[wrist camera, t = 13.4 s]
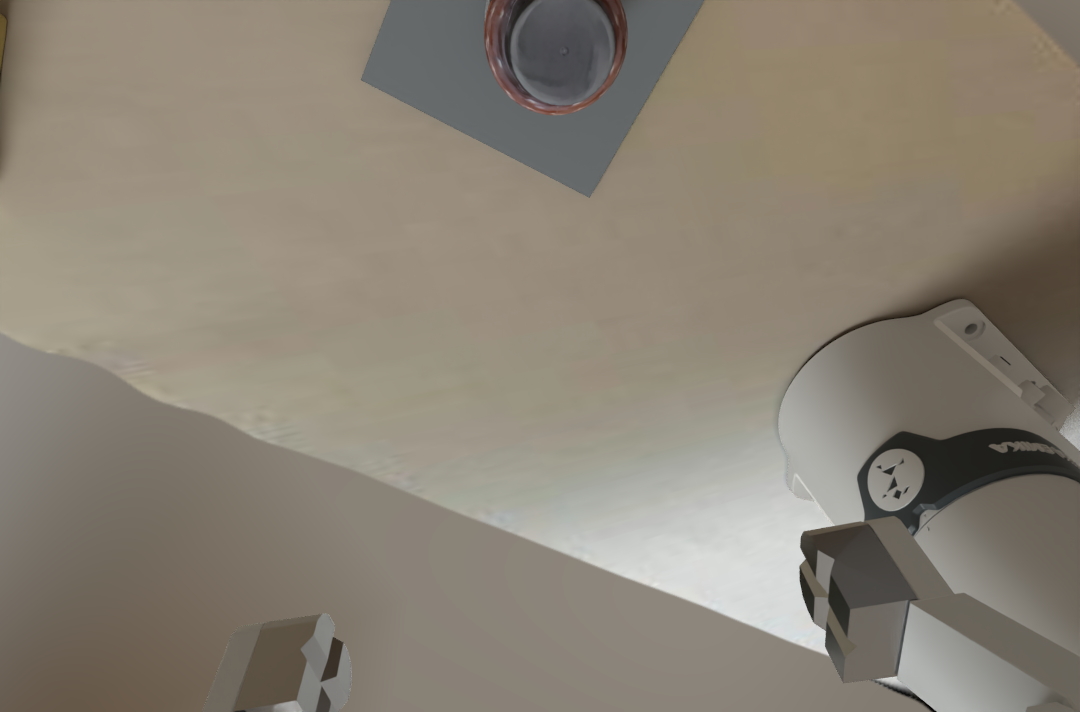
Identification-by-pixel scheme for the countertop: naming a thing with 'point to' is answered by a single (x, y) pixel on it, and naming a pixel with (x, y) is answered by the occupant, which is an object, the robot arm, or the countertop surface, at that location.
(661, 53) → the mat
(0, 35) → the cheese
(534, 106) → the supplement bottle
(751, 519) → the countertop surface
